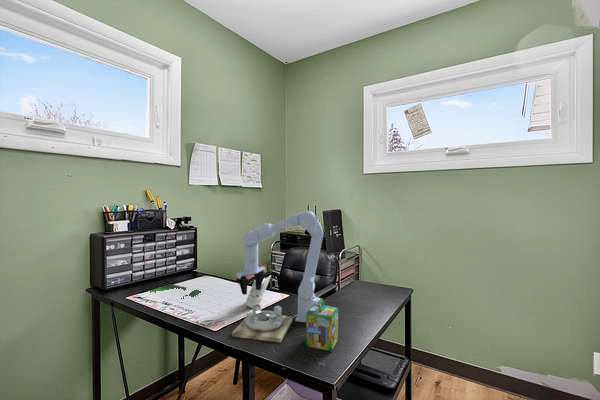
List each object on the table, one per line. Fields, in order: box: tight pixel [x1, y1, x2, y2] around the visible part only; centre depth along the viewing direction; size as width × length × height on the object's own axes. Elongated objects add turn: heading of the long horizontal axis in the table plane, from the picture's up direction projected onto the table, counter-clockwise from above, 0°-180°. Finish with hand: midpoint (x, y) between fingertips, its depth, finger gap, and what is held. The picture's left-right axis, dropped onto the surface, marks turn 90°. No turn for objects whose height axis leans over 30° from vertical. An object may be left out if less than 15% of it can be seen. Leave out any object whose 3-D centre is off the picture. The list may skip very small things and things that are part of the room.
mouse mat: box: [149, 283, 201, 305], centre depth 143 cm, size 27×22×1 cm
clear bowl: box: [245, 303, 284, 332], centre depth 108 cm, size 14×14×5 cm
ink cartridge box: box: [244, 274, 272, 309], centre depth 129 cm, size 9×5×15 cm, turn 168°
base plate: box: [231, 311, 294, 343], centre depth 108 cm, size 18×18×2 cm
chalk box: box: [305, 297, 339, 353], centre depth 97 cm, size 9×9×15 cm
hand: (251, 291), depth 120 cm, fingers open, 7 cm apart
